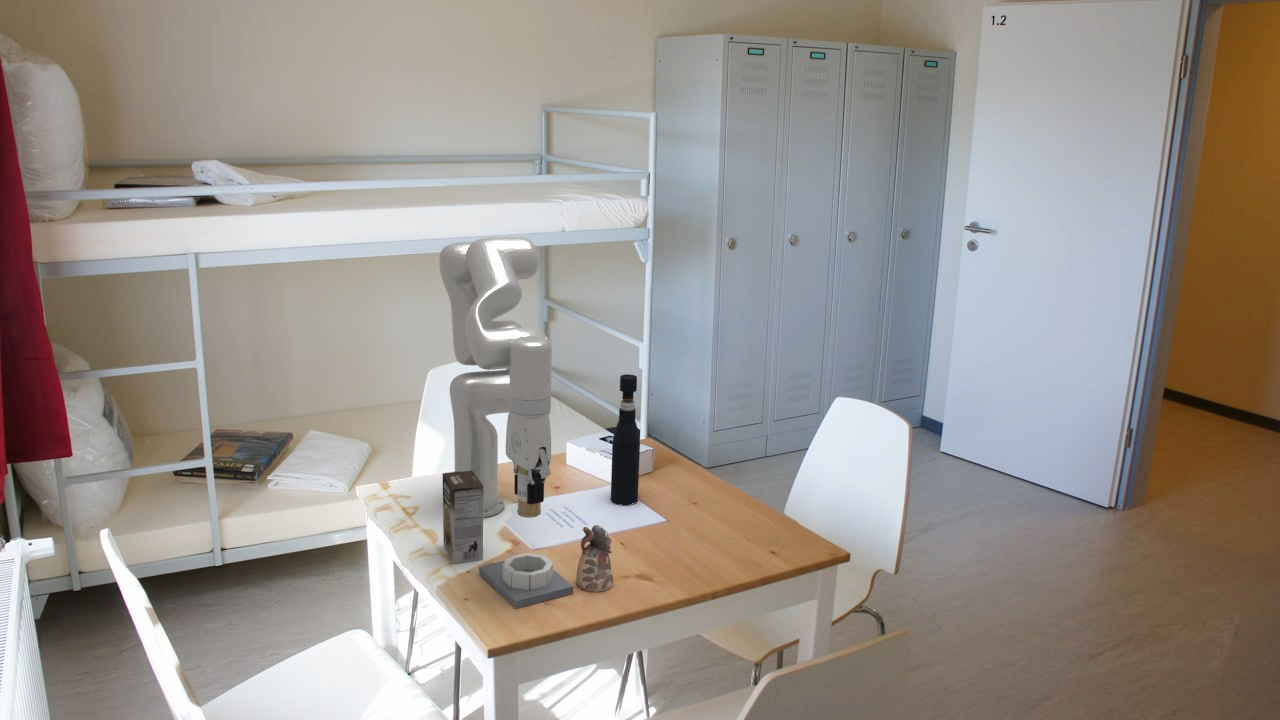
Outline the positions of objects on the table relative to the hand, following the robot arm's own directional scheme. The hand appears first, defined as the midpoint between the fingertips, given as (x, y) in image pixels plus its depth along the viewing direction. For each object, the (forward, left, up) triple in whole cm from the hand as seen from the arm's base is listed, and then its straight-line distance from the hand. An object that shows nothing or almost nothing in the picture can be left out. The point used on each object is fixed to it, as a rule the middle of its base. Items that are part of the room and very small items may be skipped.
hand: (529, 497), depth 187 cm
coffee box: (-19, -5, -18) cm, 27 cm away
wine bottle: (-27, +39, -18) cm, 51 cm away
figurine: (+5, +12, -18) cm, 22 cm away
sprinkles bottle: (0, 0, -4) cm, 4 cm away
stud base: (0, 0, -18) cm, 18 cm away
